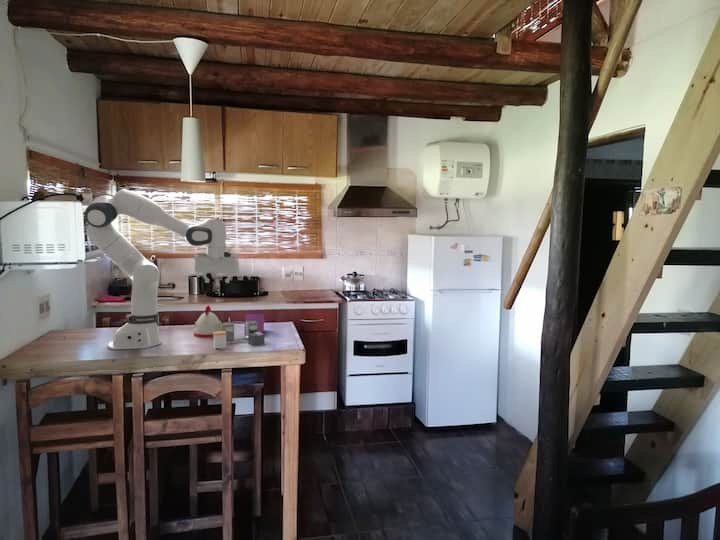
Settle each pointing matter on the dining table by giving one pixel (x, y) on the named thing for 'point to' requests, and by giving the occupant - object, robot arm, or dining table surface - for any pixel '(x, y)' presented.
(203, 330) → the white and red dome
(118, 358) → the dining table surface
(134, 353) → the dining table surface
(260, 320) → the mounting bracket
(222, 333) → the loose module
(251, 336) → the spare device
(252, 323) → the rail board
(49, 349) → the dining table surface
